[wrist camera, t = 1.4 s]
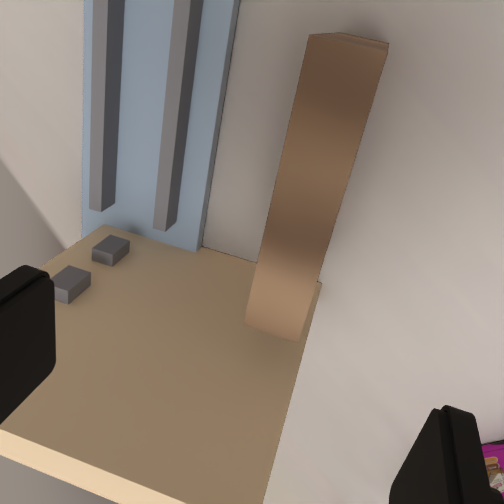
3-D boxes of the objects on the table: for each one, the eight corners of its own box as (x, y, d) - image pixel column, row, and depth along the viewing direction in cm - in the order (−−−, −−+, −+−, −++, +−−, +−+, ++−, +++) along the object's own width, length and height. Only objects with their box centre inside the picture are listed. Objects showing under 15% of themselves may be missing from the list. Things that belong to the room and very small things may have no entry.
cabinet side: (97, -118, 28) (-401, -364, 10) (428, -54, 25) (518, -251, 7) (89, 232, 39) (-151, 394, 22) (315, 303, 36) (246, 556, 19)
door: (339, 32, 28) (309, 34, 17) (388, 43, 27) (387, 52, 17) (285, 244, 35) (240, 336, 24) (323, 255, 34) (294, 354, 24)
